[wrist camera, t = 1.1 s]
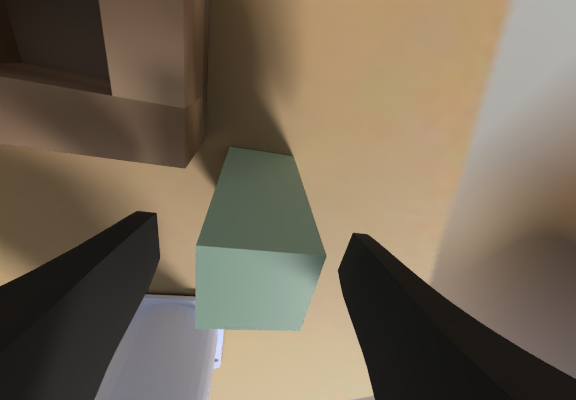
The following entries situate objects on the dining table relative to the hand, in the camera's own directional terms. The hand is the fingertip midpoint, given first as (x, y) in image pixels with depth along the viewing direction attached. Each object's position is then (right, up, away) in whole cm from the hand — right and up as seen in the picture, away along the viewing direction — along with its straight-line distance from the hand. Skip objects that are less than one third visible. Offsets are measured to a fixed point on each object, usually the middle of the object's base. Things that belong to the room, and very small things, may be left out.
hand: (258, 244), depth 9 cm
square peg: (-1, +3, +5) cm, 6 cm away
